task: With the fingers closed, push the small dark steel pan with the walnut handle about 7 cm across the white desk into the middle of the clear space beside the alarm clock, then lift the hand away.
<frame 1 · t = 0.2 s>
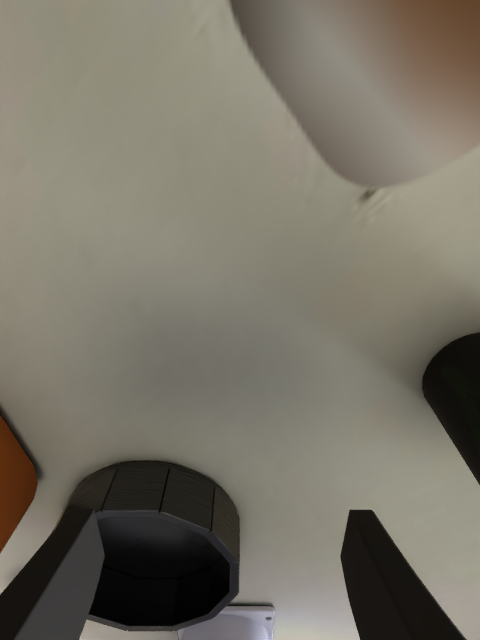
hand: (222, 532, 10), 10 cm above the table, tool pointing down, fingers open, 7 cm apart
pan: (154, 524, 24), on the table
cup: (470, 374, 20), on the table
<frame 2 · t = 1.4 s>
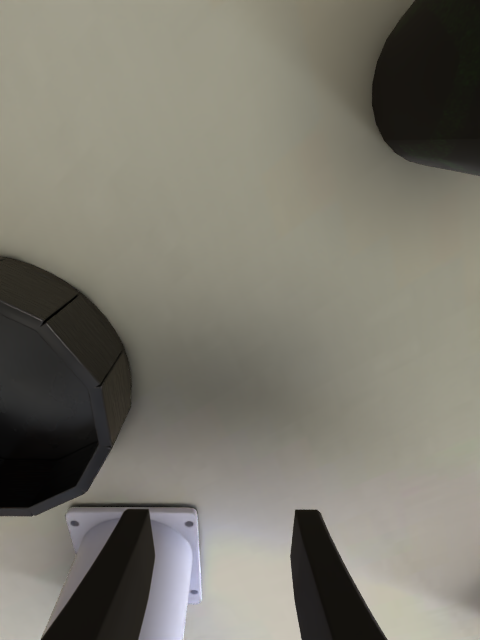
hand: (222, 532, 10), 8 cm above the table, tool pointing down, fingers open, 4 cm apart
pan: (12, 371, 18), on the table
cup: (445, 83, 13), on the table
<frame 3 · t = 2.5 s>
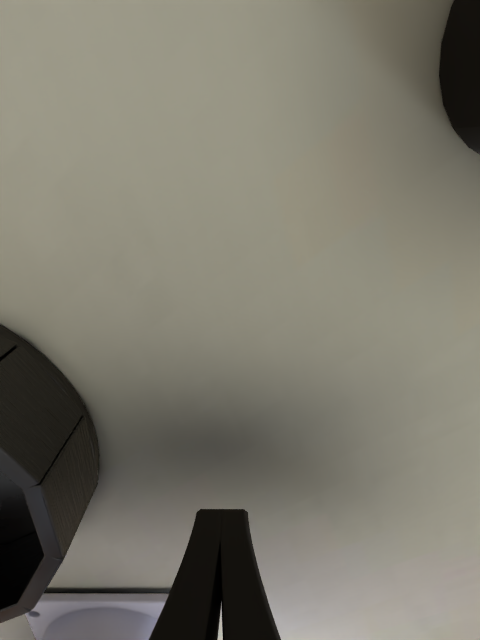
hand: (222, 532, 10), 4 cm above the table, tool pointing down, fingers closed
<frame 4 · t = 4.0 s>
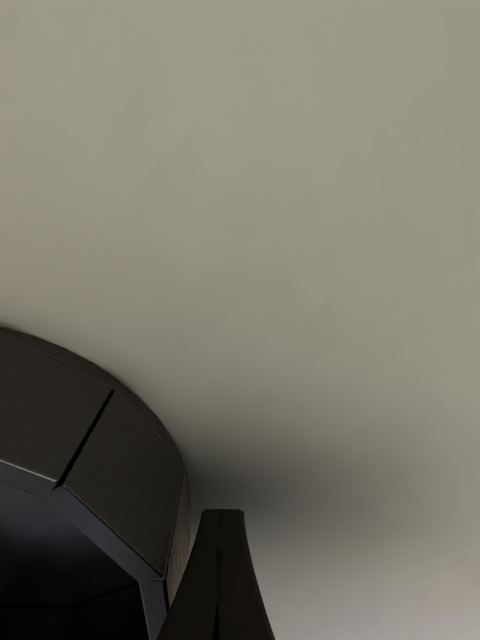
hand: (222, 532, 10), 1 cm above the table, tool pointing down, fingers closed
pan: (3, 490, 11), on the table, touching gripper
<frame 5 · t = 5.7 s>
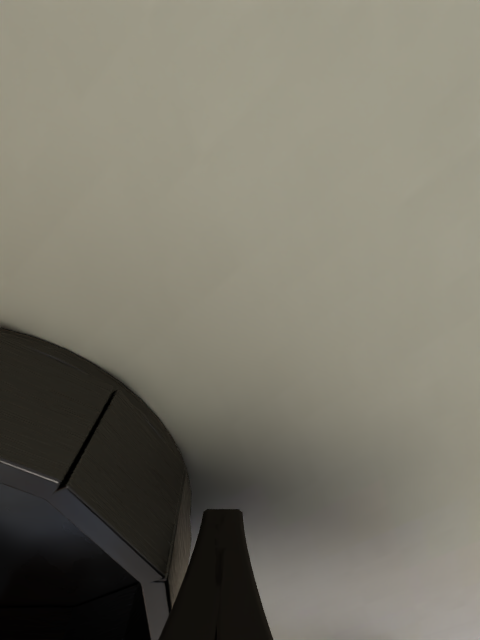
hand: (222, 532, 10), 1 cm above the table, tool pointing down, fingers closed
pan: (4, 491, 11), on the table, touching alarm clock, gripper
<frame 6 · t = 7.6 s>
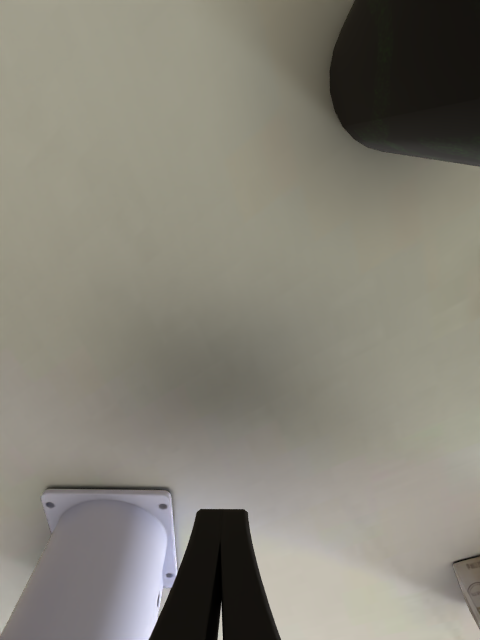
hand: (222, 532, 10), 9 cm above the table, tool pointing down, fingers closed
cup: (401, 71, 13), on the table
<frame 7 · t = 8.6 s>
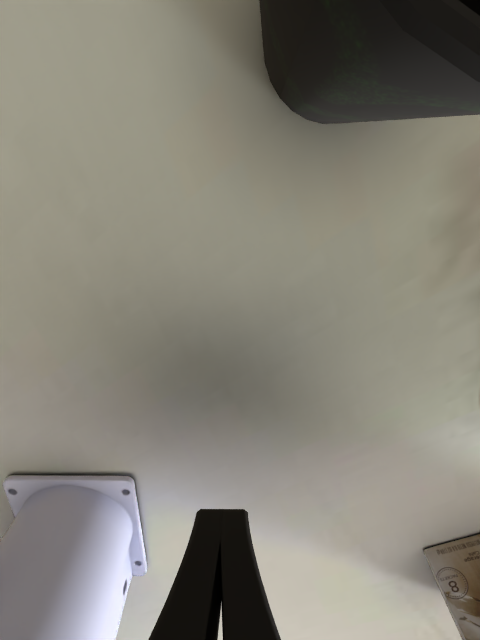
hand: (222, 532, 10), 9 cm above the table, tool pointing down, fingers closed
cup: (335, 40, 13), on the table
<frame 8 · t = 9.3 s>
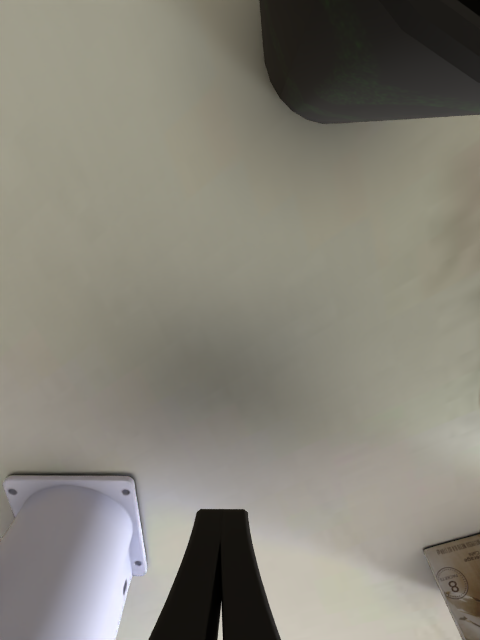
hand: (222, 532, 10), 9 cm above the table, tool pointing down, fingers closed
cup: (335, 40, 13), on the table
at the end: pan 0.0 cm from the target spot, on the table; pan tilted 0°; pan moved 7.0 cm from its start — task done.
